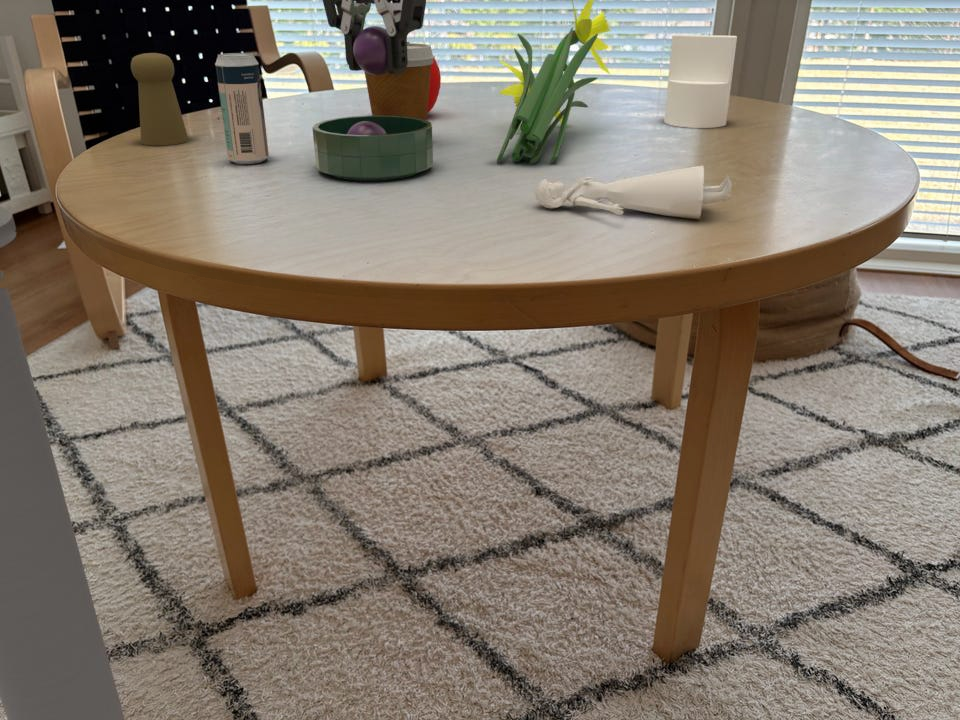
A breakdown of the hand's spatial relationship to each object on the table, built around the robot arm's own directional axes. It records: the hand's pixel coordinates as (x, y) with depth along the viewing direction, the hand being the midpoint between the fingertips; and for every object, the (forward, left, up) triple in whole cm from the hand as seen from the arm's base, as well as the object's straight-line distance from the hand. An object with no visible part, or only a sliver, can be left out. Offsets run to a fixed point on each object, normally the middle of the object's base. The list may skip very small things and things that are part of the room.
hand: (377, 70), depth 90 cm
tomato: (+13, +33, -11) cm, 37 cm away
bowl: (-1, -1, -11) cm, 11 cm away
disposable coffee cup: (+6, +13, -11) cm, 18 cm away
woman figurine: (+17, -27, -11) cm, 34 cm away
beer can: (-14, +9, -11) cm, 20 cm away
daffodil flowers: (+25, +7, -11) cm, 28 cm away
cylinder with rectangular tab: (+51, +12, -11) cm, 53 cm away
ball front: (0, 0, 0) cm, 0 cm away
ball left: (-2, -2, -10) cm, 10 cm away
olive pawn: (-23, +26, -11) cm, 36 cm away
